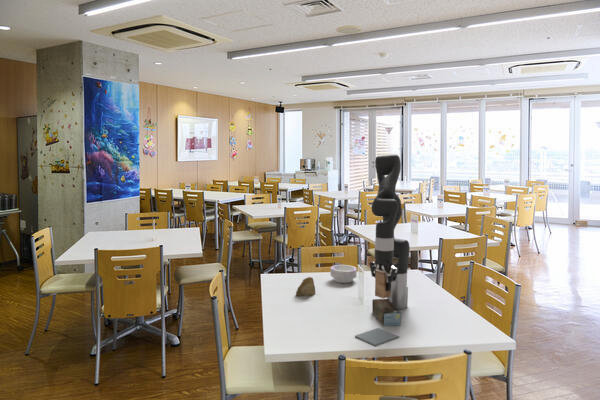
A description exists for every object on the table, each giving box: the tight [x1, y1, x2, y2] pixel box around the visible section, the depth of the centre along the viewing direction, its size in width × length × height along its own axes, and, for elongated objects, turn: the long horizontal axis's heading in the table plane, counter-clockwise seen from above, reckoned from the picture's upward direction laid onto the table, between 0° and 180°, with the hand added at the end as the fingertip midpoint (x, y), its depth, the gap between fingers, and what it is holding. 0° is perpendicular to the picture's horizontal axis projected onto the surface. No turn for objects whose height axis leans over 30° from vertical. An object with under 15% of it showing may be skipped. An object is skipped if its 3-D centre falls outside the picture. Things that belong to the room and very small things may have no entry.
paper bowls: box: [330, 264, 358, 284], centre depth 266 cm, size 15×15×8 cm
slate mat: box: [354, 327, 400, 347], centre depth 185 cm, size 14×11×1 cm
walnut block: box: [374, 269, 391, 299], centre depth 185 cm, size 4×4×11 cm
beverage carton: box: [371, 298, 402, 327], centre depth 206 cm, size 8×19×7 cm, turn 6°
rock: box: [295, 276, 316, 297], centre depth 240 cm, size 11×9×10 cm
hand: (383, 289), depth 185 cm, fingers closed on walnut block, 4 cm apart
